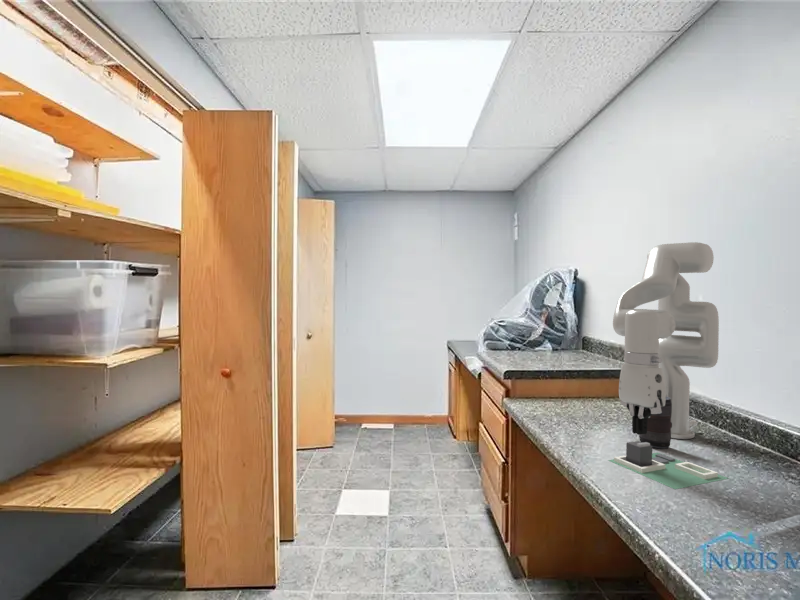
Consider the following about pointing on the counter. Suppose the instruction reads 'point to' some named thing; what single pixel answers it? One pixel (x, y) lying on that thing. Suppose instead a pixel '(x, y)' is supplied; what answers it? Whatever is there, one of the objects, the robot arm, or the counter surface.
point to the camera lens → (659, 428)
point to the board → (671, 471)
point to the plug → (639, 453)
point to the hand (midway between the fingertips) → (639, 433)
